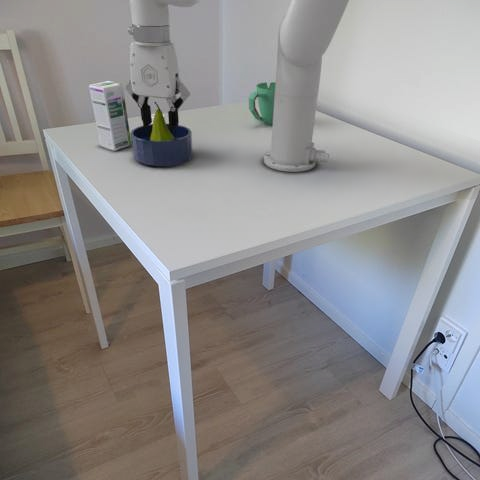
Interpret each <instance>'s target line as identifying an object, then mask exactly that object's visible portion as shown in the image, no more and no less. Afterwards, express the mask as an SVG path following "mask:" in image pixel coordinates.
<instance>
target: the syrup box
mask: <svg viewBox="0 0 480 480" xmlns="http://www.w3.org/2000/svg"><path fill="white" fill-rule="evenodd" d="M123 85H124V84H122V83H120V82H117V81H112V80H106V81H102V82H97V83H91V84H89V85H88V88H89V93H90V100H91V104H92V108H93V109H92V110H93V114H94V118H95V119H94V120H95V123H96V129H97V132H98V133H97V134H98V138H99V145H100V146H101V147H102V148H105V149H106V150H107V149H108V150H110V151H114V152H116V151H118V150H121V149H125V148H127V147H132V142H131V135H130V133H131V131H130V124H129V119H128V111H127V105H126V104H127V103H126V98H125V92H124V91H125V90H124V86H123Z"/></svg>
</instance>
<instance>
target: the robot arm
mask: <svg viewBox="0 0 480 480" xmlns="http://www.w3.org/2000/svg"><path fill="white" fill-rule="evenodd" d="M201 1H202V0H129V6H130V13H131V22H132V23H131V26H128V27H127V32H128V34H129V35H130V36H131V35H132V38H133V41H132V42H130V50H129V66H130V67H129V69H130V70H129V71H130V80H129V81H128V83H127V84H126V85H125V86H124V88H125V91H126V92H127V93H128V94H129V95H130V96H131V98H132V99H133V100H134V102H135V103H136V105H137V107H138V108H139V109H140V118H141V121H142V126H148V125H149V124H151V123H152V118H151V115H152V110H151V109H152V108H151V106H150V104H149V100H150V98H157V99H165V100H166V103H167V105H168V108H169V110H168V112H167V114H168V115H167V117H168V123H169V129H170V130H173V129H175V128H176V127H177V126H178V125H179V123H180V121H179V119H180V118H179V109H180V108H181V106H182V105H183V104H184V102H185V101H186V100H187V99H188V98H189V97H190V95H191V92H190V91H189V89H188V88H187V87H186V86H185V84H184V83H183V81H181V78H180V68H179V63H178V56H177V52H176V49H175V45H174V42H172V40H171V39H172V38H171V27H170V26H171V25H170V12H169V6H174V7H179V8H191V7H193V6H195V5H197V4H198V3H200V2H201ZM349 2H350V0H291V1H290V5H289V7H288V8H287V9H286V10H285V11H284V13H283V15H282V16H281V19H280V21H279V25H278V33H277V51H276V55H277V56H276V57H277V58H276V73H275V82H276V85H275V97H274V112H273V125H271V126H272V128H271V143H270V151H268V152H267V153H266V154H264V156H263V163H264V164H265V165H266V166H267V167H268V168H270V169H273V170H275V171H280V172H288V173H299V172H305V171H309V170H312V169H313V168H314V167H315V166H316V162H317V161H319V162H323V163H328V161H329V157H330V153H329V152H326V150H323V149H316V148H315V142H313V136H314V128H315V121H316V112H317V103H318V97H319V90H320V82H321V72H322V63H323V61H322V60H323V55H324V54H325V53H326V52H327V50H328V48H329V46H330V44H331V43H332V41H333V38H334V35H335V34H336V32H337V30H338V27H339V24H340V23H341V21H342V18H343V15H344V13H345V11H346V8H347V7H348V4H349ZM179 94H180V95H179ZM177 95H179V96H178V97H177Z"/></svg>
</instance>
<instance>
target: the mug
mask: <svg viewBox="0 0 480 480" xmlns="http://www.w3.org/2000/svg"><path fill="white" fill-rule="evenodd" d="M275 85H276V81H274V82H273V81H271V82H270V83H269V86H268V82H266V81H265V82H260V83H257V84H256V90H255V91H253V92H251V93H250V95H249V97H248V109H249V111H250V113H251V114H252V116H253V118H254V119H255V120H257V121H260V122H262V123H263V124H264V125H268V126H273V112H274V97H275ZM256 100H257V103H258V108H259V112H260V114H259V112H258V110H257V108H256Z"/></svg>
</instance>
